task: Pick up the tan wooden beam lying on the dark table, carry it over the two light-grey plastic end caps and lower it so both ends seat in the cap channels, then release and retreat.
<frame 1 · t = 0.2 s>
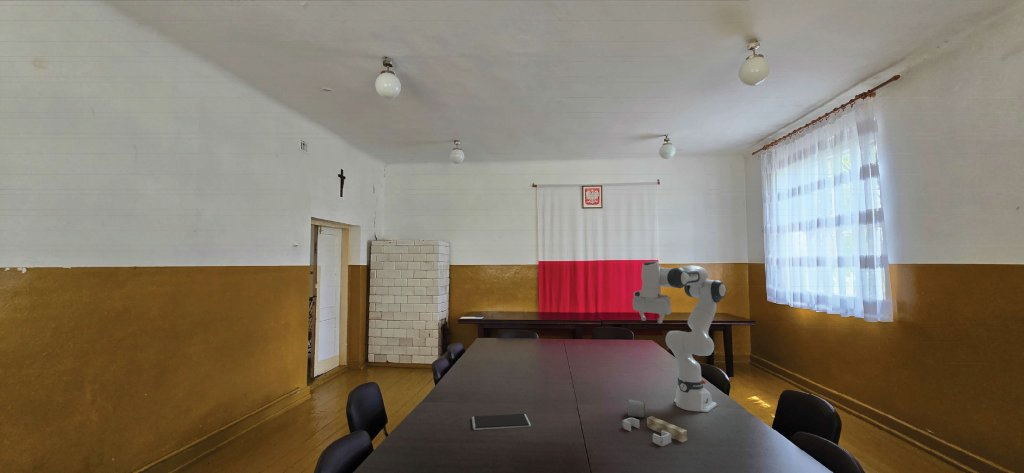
hand: (651, 321, 190), 47 cm above the table, fingers open, 8 cm apart
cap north: (663, 442, 163), on the table
ceramic mug: (635, 415, 192), on the table
tan wooden beam: (666, 434, 172), on the table
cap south: (629, 427, 178), on the table
smartphone: (500, 424, 183), on the table
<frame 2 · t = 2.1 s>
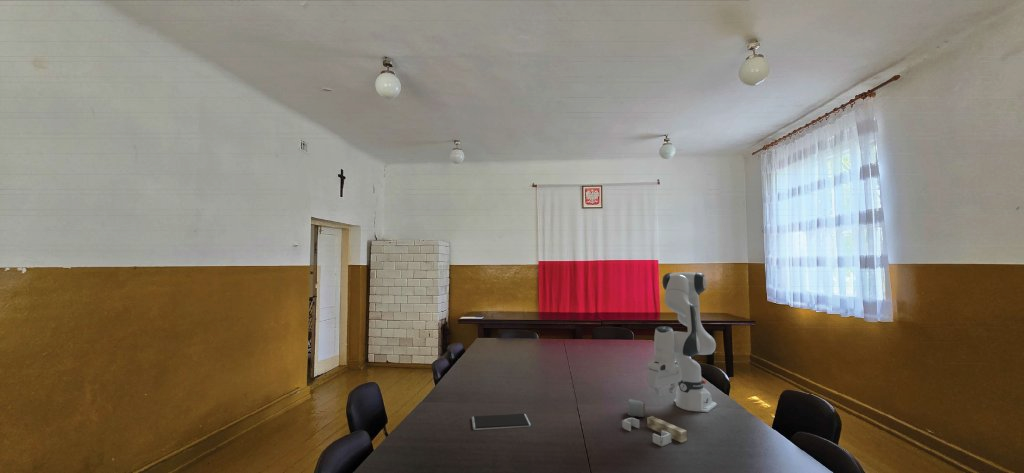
hand: (665, 394, 173), 17 cm above the table, fingers open, 8 cm apart
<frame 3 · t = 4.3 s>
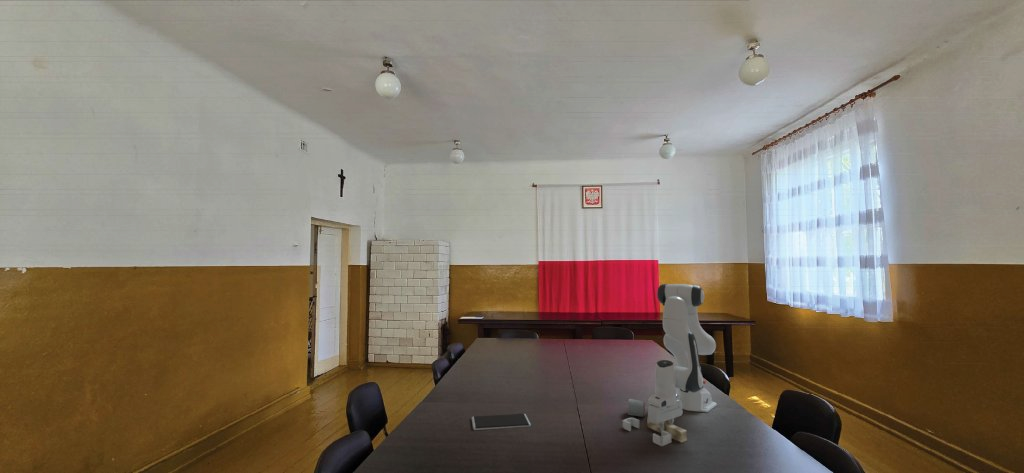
hand: (666, 429, 172), 2 cm above the table, fingers closed on tan wooden beam, 4 cm apart
tan wooden beam: (666, 433, 172), on the table, touching gripper
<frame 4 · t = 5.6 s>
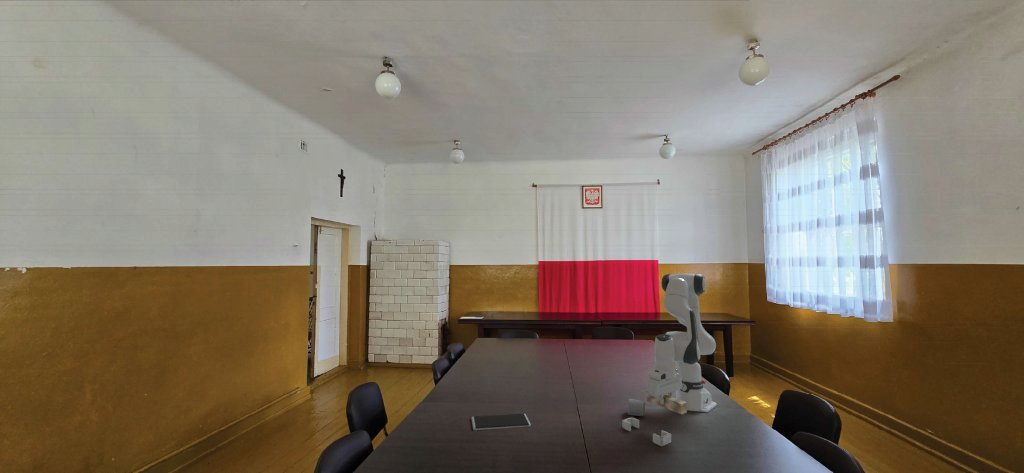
hand: (666, 402, 173), 13 cm above the table, fingers closed on tan wooden beam, 3 cm apart
tan wooden beam: (666, 406, 173), point 12 cm above the table, touching gripper
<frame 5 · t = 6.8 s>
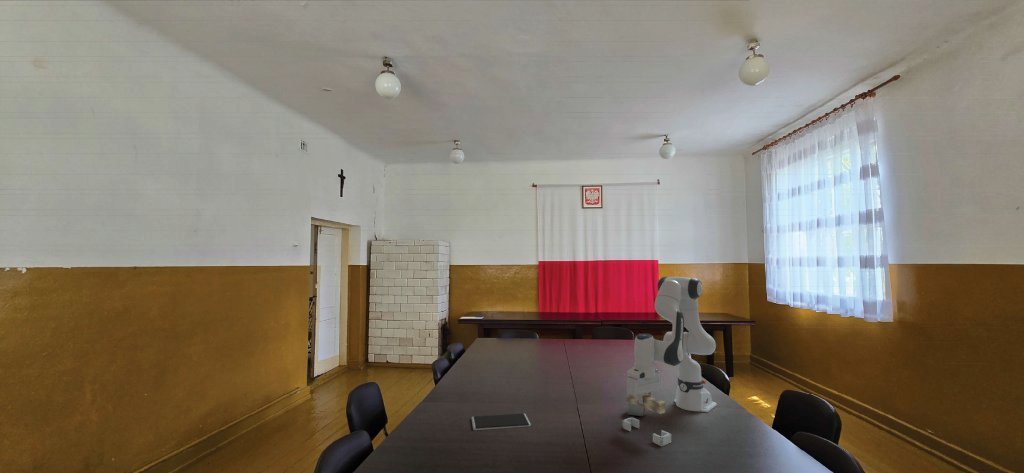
hand: (645, 402, 171), 14 cm above the table, fingers closed on tan wooden beam, 3 cm apart
tan wooden beam: (645, 406, 171), point 12 cm above the table, touching gripper
when the fingers open (3 cm above the table, at t = 8.9 s): tan wooden beam drops 1 cm, on the table.
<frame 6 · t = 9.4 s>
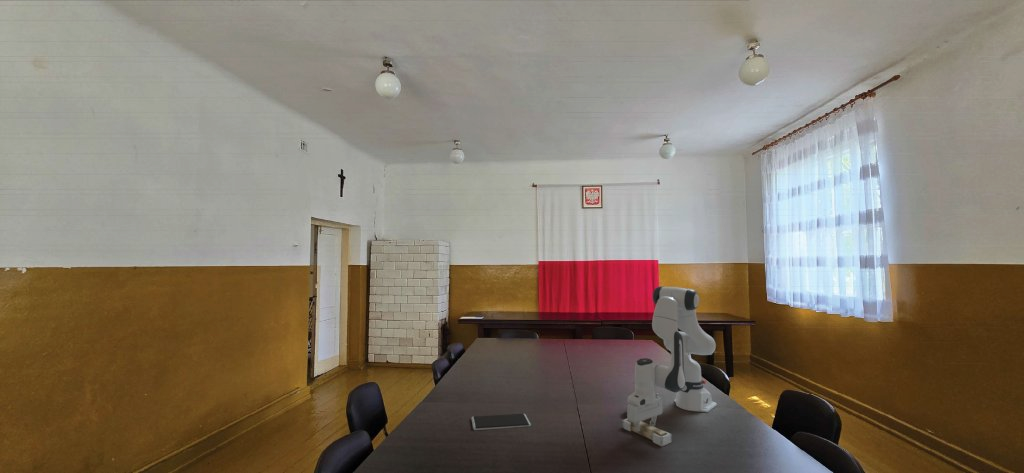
hand: (645, 428, 171), 3 cm above the table, fingers open, 8 cm apart
tan wooden beam: (646, 435, 170), on the table
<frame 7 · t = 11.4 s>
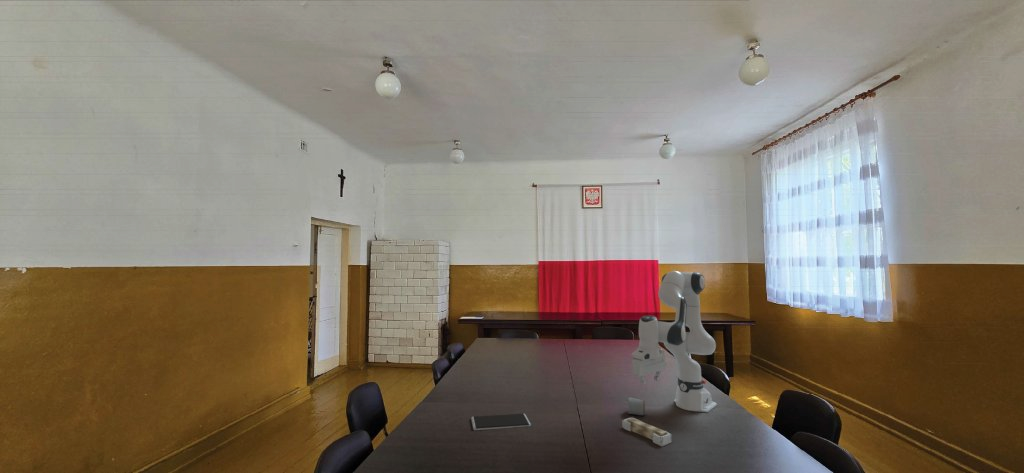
hand: (650, 382, 176), 22 cm above the table, fingers open, 8 cm apart
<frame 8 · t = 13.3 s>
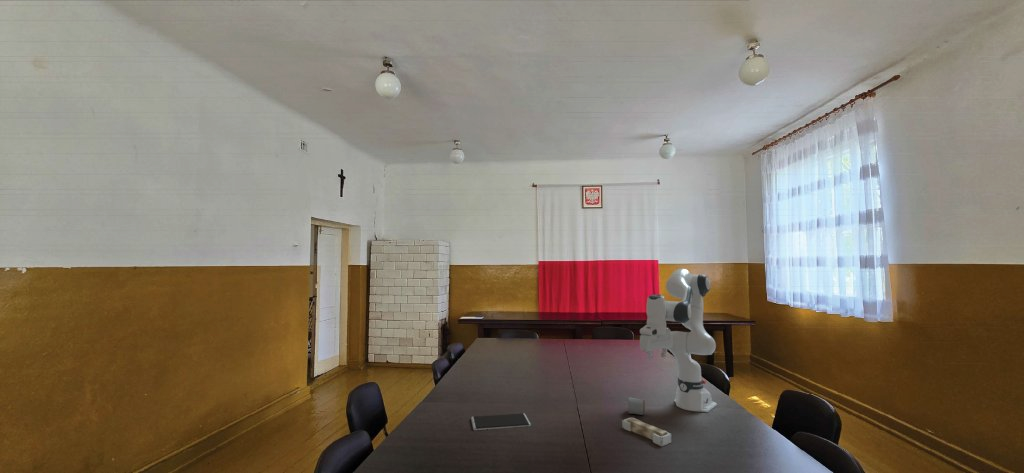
hand: (657, 358, 182), 31 cm above the table, fingers open, 8 cm apart
at the end: tan wooden beam 0.1 cm from the target spot, on the table; tan wooden beam tilted 0°; the gripper is holding nothing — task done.
